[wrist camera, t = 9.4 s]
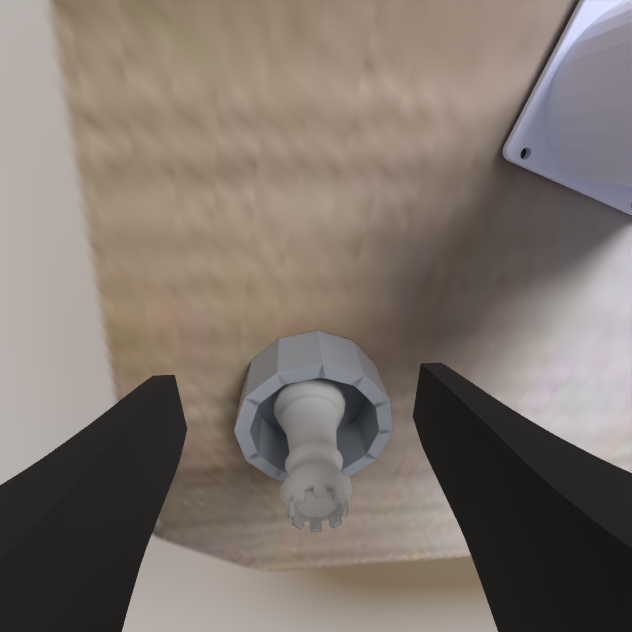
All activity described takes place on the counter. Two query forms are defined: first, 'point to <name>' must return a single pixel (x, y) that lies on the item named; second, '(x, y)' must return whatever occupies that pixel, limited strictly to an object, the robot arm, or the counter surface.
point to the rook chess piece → (313, 452)
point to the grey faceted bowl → (304, 364)
